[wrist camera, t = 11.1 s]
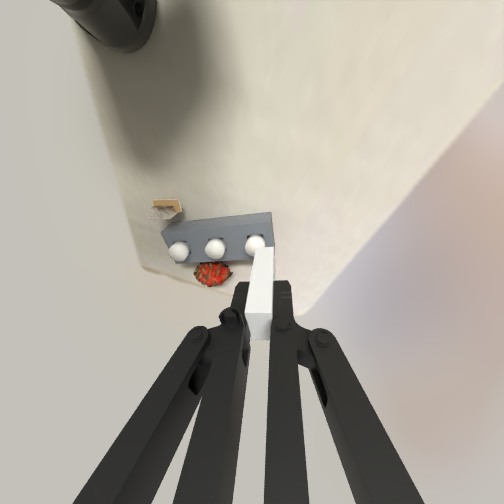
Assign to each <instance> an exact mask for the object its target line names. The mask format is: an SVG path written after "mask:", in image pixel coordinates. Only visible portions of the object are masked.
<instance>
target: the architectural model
mask: <svg viewBox="0 0 504 504" xmlns="http://www.w3.org/2000/svg"><path fill="white" fill-rule="evenodd" d="M153 203H154V206H153V207H154V210H155V213H156V214H154V215H153V216H151V217H150V218H148V219H171V218H172V217H173V216H175V215H176V214H177V213H178V212H182V209H183V208H181V205H180V202H179V199H168V200H153ZM163 206H165V207H166V206H167V207H168V208H164V207H163ZM153 207H151V208H153Z"/></svg>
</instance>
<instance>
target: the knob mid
mask: <svg viewBox="0 0 504 504" xmlns="http://www.w3.org/2000/svg"><path fill="white" fill-rule="evenodd" d="M225 250H226V245H225V243H224V239H223V238H213V239H211V240H210V241H209V242H208V244H207V245H206V247H205V252H206V254H207V255H208V256H209V257H210V258H212V259H220V258H221V257H222V256H223V254H224V252H225Z"/></svg>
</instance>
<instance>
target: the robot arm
mask: <svg viewBox="0 0 504 504" xmlns="http://www.w3.org/2000/svg"><path fill="white" fill-rule="evenodd" d="M50 1H52V2H54V3H56V4H57V5H59V6H60V7H61V8H62V9H63V10H64V11H65V12H66V13H67V14H68V15H69V16H70V17H71V18H73V19H74V20H75V21H76V23H77V24H78V25H79V26H80V27H81V28H82V29H83V30H84V31H85V32H86V33H87V34H88V35H89V36H91V37H92V38H93V39H95V40H96V41H97V42H99V43H101V44H103V45H105V46H107V47H109V48H111V49H113V50H115V51H118V52H124V53H128V52H133V51H136V50H138V49H139V48H141V47H142V46H143V45H144V44H145V42H146V41H147V40H148V38H149V36H150V34H151V31H152V28H153V25H154V21H155V14H156V0H50ZM219 319H220V322H221V325H219V326H217V327H214V328H210V329H207V328H206V327H204V326H197V327H194V328H193V329H191V330H190V331H189V332H188V333H187V335H186V337H185V338H184V340H183V341H182V342H181V344H180V345H179V347H178V348H177V350H176V351H175V353H174V354H173V356H172V357H171V359H170V360H169V362H168V363H167V365H166V366H165V367H164V369H163V371H162V372H161V373H160V375H159V376H158V378H157V379H156V381H155V382H154V384H153V385H152V387H151V388H150V390H149V391H148V393H147V394H146V396H145V397H144V399H143V400H142V401H141V403H140V405H139V406H138V408H137V409H136V410H135V412H134V413H133V415H132V416H131V418H130V419H129V421H128V422H127V424H126V425H125V427H124V428H123V430H122V431H121V433H120V434H119V436H118V437H117V438H116V440H115V441H114V443H113V444H112V446H111V447H110V449H109V450H108V452H107V453H106V455H105V456H104V458H103V459H102V461H101V462H100V464H99V465H98V467H97V468H96V470H95V471H94V473H93V474H92V475H91V477H90V478H89V480H88V482H87V483H86V484H85V486H84V487H83V489H82V490H81V492H80V493H79V495H78V496H77V498H76V499H75V501H74V502H73V504H151V503H152V501H153V499H154V497H155V495H156V493H157V490H158V488H159V486H160V484H161V482H162V480H163V478H164V476H165V474H166V471H167V469H168V467H169V465H170V463H171V461H172V459H173V456H174V454H175V452H176V450H177V448H178V446H179V444H180V442H181V440H182V438H183V435H184V433H185V431H186V429H187V427H188V425H189V423H190V421H191V419H192V416H193V414H194V412H195V410H196V408H197V406H198V404H199V402H200V399H201V397H202V399H201V403H200V407H199V410H198V414H197V417H196V421H195V425H194V428H193V432H192V435H191V439H190V442H189V446H188V450H187V453H186V457H185V460H184V464H183V468H182V471H181V475H180V479H179V482H178V486H177V489H176V494H175V497H174V500H173V504H232V501H233V492H234V484H235V475H236V467H237V459H238V450H239V442H240V433H241V424H242V417H243V408H244V399H245V391H246V383H247V374H248V366H249V358H250V343H249V342H250V336H251V340H270V355H269V380H268V382H269V383H268V406H267V433H266V459H265V485H264V487H265V488H264V504H309V494H308V482H307V470H306V457H305V446H304V434H303V422H302V409H301V399H300V398H301V397H300V386H299V373H298V364H299V365H302V366H304V367H306V368H308V369H309V371H310V374H311V377H312V380H313V383H314V385H315V388H316V391H317V394H318V397H319V400H320V403H321V405H322V408H323V411H324V414H325V417H326V420H327V423H328V426H329V428H330V431H331V434H332V437H333V440H334V443H335V445H336V448H337V451H338V454H339V457H340V460H341V463H342V466H343V468H344V471H345V474H346V477H347V480H348V483H349V485H350V488H351V491H352V494H353V497H354V499H355V502H356V504H424V502H423V500H422V498H421V496H420V494H419V492H418V490H417V489H416V487H415V485H414V483H413V481H412V479H411V477H410V476H409V474H408V472H407V470H406V468H405V466H404V464H403V462H402V461H401V459H400V457H399V455H398V453H397V451H396V449H395V448H394V446H393V444H392V442H391V440H390V438H389V436H388V435H387V433H386V431H385V429H384V427H383V425H382V423H381V422H380V420H379V418H378V416H377V414H376V412H375V410H374V409H373V407H372V405H371V403H370V401H369V399H368V397H367V395H366V394H365V392H364V390H363V388H362V386H361V384H360V383H359V381H358V379H357V377H356V375H355V373H354V371H353V370H352V368H351V366H350V364H349V362H348V360H347V358H346V356H345V355H344V353H343V351H342V349H341V347H340V345H339V343H338V342H337V340H336V338H335V337H334V335H333V334H332V333H331V332H330V331H328V330H326V329H322V328H317V329H314V330H312V331H311V330H308V329H305V328H303V327H301V326H299V325H298V324H297V323H296V322H295V320H294V316H293V305H292V293H291V285H290V284H289V282H288V281H287V280H285V281H276V268H275V256H274V247H259V248H256V251H255V256H254V262H253V268H252V273H251V279H250V282H239V283H238V284H237V286H236V287H235V291H234V295H233V299H232V303H231V306H230V307H228V308H226V309H224V310H223V311H222V312H221V313H220V315H219Z"/></svg>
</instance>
